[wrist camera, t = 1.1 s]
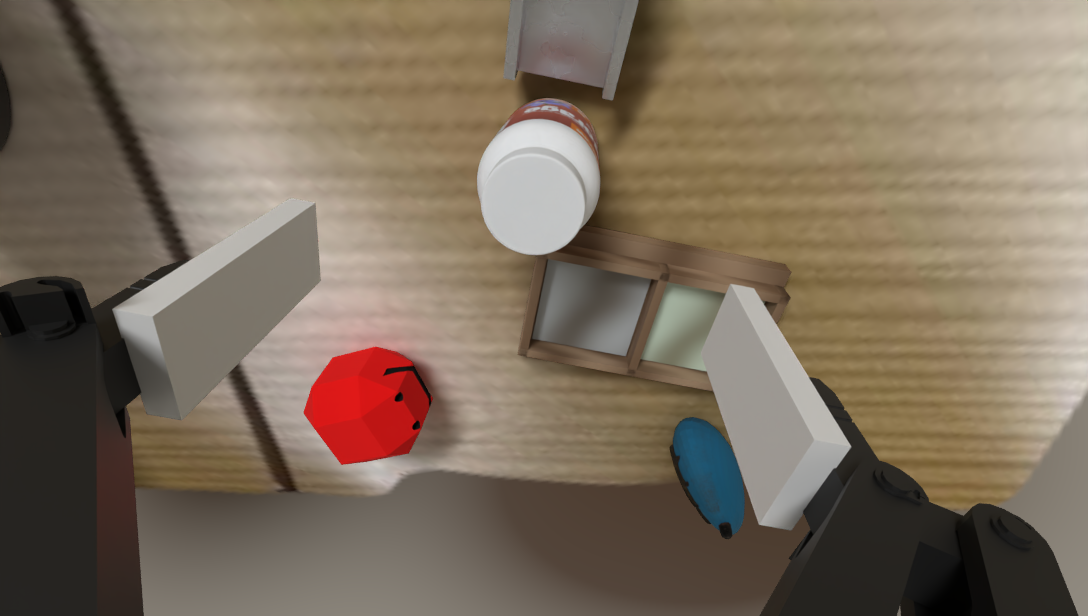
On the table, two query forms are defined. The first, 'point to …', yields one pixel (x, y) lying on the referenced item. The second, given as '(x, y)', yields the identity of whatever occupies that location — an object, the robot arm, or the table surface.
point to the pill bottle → (540, 177)
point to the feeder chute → (570, 40)
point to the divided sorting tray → (637, 304)
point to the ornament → (709, 474)
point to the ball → (368, 405)
